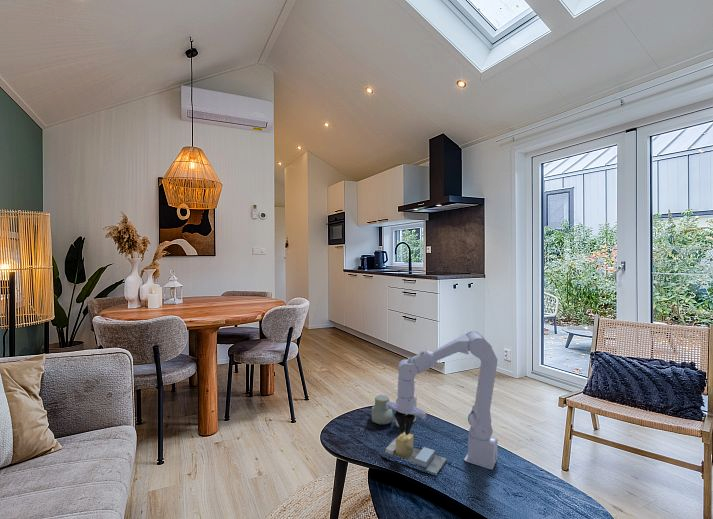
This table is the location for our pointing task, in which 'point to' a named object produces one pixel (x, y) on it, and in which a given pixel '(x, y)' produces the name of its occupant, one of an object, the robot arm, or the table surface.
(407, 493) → the table surface
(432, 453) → the block
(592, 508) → the table surface
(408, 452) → the brass block
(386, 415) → the air freshener
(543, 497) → the table surface
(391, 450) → the vise
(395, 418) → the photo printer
